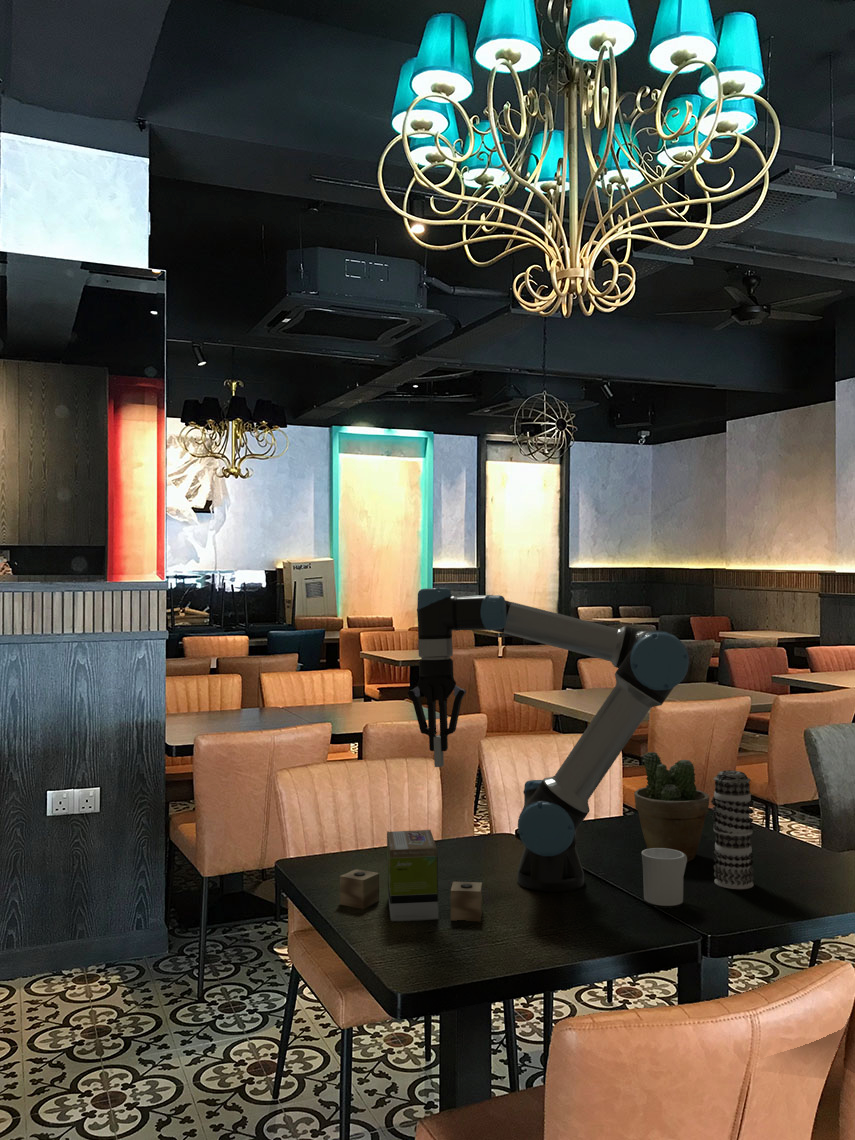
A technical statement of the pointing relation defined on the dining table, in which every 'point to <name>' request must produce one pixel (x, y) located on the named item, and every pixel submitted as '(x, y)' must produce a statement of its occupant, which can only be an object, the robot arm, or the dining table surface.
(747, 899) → the dining table surface
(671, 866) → the mug
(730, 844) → the decorative candle
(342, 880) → the oak block
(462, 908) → the oak block
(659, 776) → the potted plant
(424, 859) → the tea box
